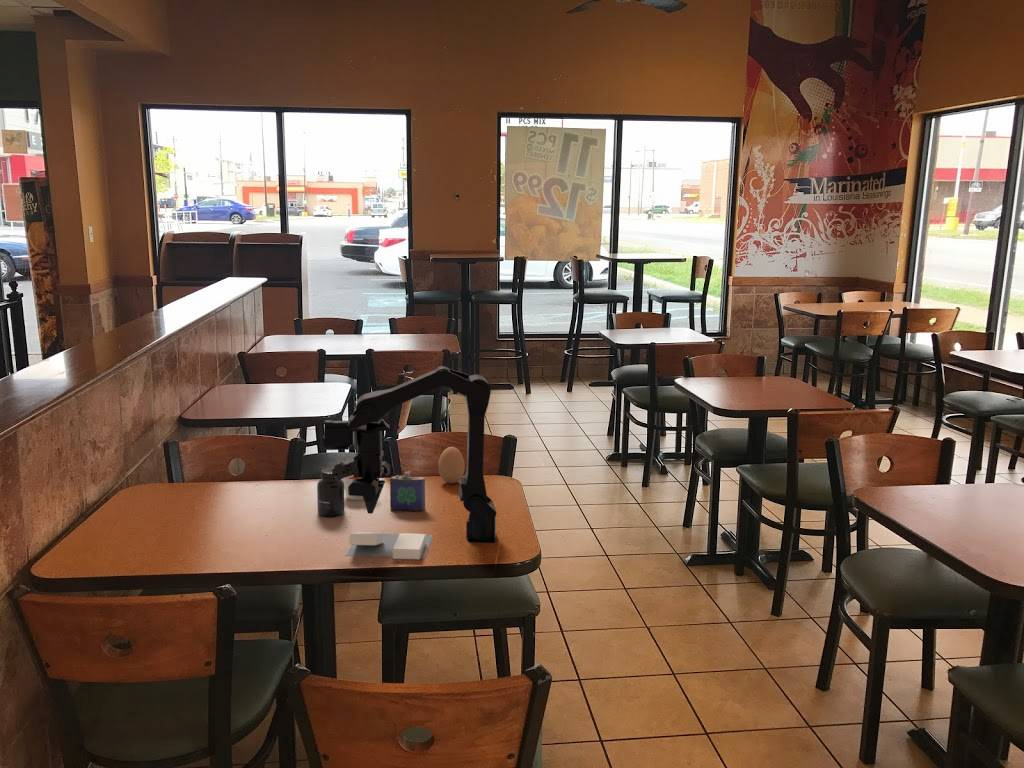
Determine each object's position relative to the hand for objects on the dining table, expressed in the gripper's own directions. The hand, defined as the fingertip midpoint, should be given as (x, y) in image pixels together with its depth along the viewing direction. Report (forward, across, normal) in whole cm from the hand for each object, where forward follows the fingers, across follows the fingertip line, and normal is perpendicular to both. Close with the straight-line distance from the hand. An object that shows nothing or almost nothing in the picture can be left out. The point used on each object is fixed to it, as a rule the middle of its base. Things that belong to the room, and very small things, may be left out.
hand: (370, 513), depth 203 cm
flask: (+8, -24, +5) cm, 25 cm away
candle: (+8, -34, -10) cm, 36 cm away
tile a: (+6, +1, +10) cm, 12 cm away
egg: (+8, -48, +14) cm, 50 cm away
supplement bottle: (+8, -18, -14) cm, 25 cm away
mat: (+8, +2, +5) cm, 9 cm away
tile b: (+6, 0, 0) cm, 6 cm away
